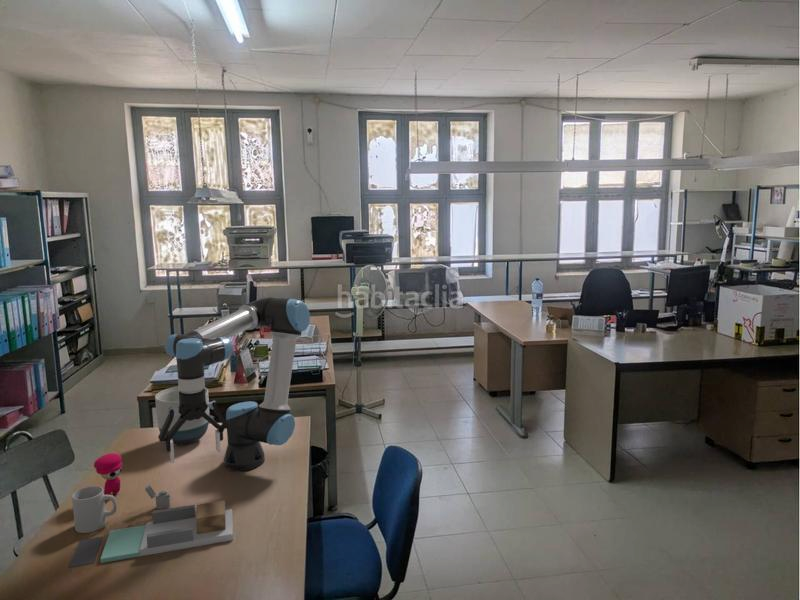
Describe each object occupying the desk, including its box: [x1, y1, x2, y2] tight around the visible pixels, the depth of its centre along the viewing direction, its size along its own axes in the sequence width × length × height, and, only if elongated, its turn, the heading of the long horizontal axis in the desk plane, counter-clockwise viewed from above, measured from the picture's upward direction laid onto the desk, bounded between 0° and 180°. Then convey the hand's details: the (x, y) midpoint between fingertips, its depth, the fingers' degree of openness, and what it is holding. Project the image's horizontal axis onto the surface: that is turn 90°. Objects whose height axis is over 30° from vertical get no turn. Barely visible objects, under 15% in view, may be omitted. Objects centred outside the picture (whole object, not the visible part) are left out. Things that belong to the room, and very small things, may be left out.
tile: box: [100, 524, 146, 564], centre depth 158 cm, size 10×14×1 cm
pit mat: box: [67, 536, 104, 569], centre depth 155 cm, size 6×13×1 cm, turn 18°
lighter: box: [144, 484, 171, 510], centre depth 178 cm, size 7×2×8 cm, turn 106°
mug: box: [71, 485, 118, 534], centre depth 168 cm, size 12×8×11 cm
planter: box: [154, 386, 210, 446], centre depth 226 cm, size 20×20×21 cm
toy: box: [93, 452, 123, 496], centre depth 183 cm, size 8×8×15 cm
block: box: [195, 500, 226, 534], centre depth 165 cm, size 8×8×5 cm
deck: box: [139, 504, 234, 557], centre depth 163 cm, size 25×14×6 cm, turn 108°
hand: (195, 455), depth 168 cm, fingers open, 13 cm apart
